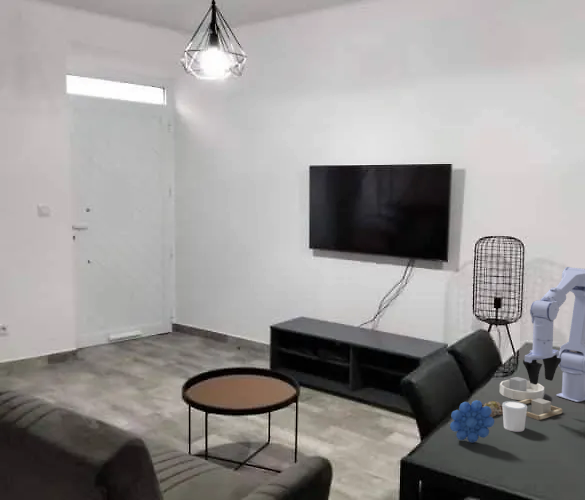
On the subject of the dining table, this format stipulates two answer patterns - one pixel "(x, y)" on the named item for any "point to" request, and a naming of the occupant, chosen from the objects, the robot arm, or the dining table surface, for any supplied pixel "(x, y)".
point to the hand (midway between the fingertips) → (541, 381)
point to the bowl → (530, 393)
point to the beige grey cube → (540, 406)
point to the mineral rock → (494, 408)
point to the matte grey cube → (518, 384)
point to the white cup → (514, 415)
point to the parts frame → (542, 416)
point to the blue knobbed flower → (471, 421)
